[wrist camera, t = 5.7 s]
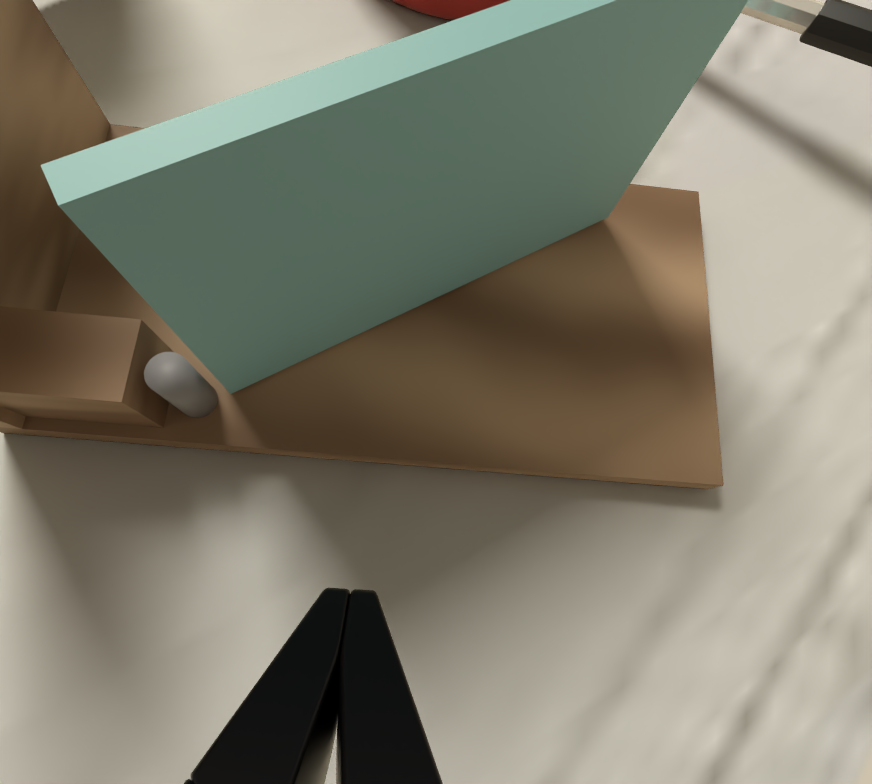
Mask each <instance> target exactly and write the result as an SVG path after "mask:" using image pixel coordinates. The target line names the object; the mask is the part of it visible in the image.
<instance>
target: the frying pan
mask: <svg viewBox="0 0 872 784" xmlns="http://www.w3.org/2000/svg"><path fill="white" fill-rule="evenodd" d="M392 1H394V2H396V3H398V4H401V5H403V6H405V7H408V8H410V9H413V10H415V11H417V12H420V13H424V14H428V15H432V16H436V17H440V18H444V19H450V20H456V19H459V18H462V17H464V16H467V15H470V14H473V13H476V12H479V11H482V10H484V9H487V8H490V7H493V6H496V5H499V4H502V3H504V2H507V1H510V0H392ZM741 13H742V14H745V15H748V16H751V17H754V18H757V19H760V20H762V21H765V22H768V23H771V24H774V25H777V26H780V27H783V28H786V29H788V30H791V31H794V32H797V33H800V34H802V35H801V37H800V41H801V42H802V43H805V44H808V45H811V46H814V47H817V48H819V49H822V50H825V51H828V52H831V53H834V54H837V55H839V56H842V57H845V58H848V59H851V60H854V61H857V62H859V63H862V64H865V65H868V66H871V67H872V10H870V9H867V8H864V7H860V6H857V5H854V4H851V3H848V2H845V1H842V0H827V1H826V2H825V3H822V2H819V1H816V0H748V2H747V4H746V5H745V7H744V8H743V10H742V11H741Z"/></svg>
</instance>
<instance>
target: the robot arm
mask: <svg viewBox="0 0 872 784" xmlns="http://www.w3.org/2000/svg"><path fill="white" fill-rule="evenodd" d="M337 721H338V722H337ZM336 728H337V753H336V784H443V783H442V780H441V777H440V774H439V772H438V769H437V766H436V763H435V760H434V757H433V754H432V751H431V748H430V746H429V743H428V740H427V737H426V734H425V731H424V728H423V725H422V723H421V720H420V717H419V714H418V711H417V708H416V705H415V702H414V700H413V697H412V694H411V691H410V688H409V685H408V682H407V679H406V677H405V674H404V671H403V668H402V665H401V662H400V659H399V656H398V653H397V651H396V648H395V645H394V642H393V639H392V636H391V633H390V630H389V628H388V625H387V622H386V619H385V616H384V613H383V610H382V607H381V605H380V602H379V599H378V596H377V594H376V592H375V591H372V590H356V589H355V590H352V591H351V593H350V592H349V590H347V589H340V588H326V589H325V590H324V591H323V592H322V593H321V594H320V596H319V597H318V599H317V600H316V601H315V603H314V604H313V605H312V607H311V608H310V610H309V611H308V612H307V614H306V615H305V617H304V618H303V619H302V621H301V622H300V623H299V625H298V626H297V628H296V629H295V630H294V632H293V633H292V635H291V636H290V637H289V639H288V640H287V641H286V643H285V644H284V646H283V647H282V648H281V650H280V651H279V653H278V654H277V655H276V657H275V658H274V660H273V661H272V662H271V664H270V665H269V666H268V668H267V669H266V671H265V672H264V673H263V675H262V676H261V678H260V679H259V680H258V682H257V683H256V684H255V686H254V687H253V689H252V690H251V691H250V693H249V694H248V696H247V697H246V698H245V700H244V701H243V703H242V704H241V705H240V707H239V708H238V709H237V711H236V712H235V714H234V715H233V716H232V718H231V719H230V721H229V722H228V723H227V725H226V726H225V727H224V729H223V730H222V732H221V733H220V734H219V736H218V737H217V739H216V740H215V741H214V743H213V744H212V745H211V747H210V748H209V750H208V751H207V752H206V754H205V755H204V757H203V758H202V759H201V761H200V762H199V764H198V765H197V766H196V768H195V769H194V770H193V772H192V773H191V779H188V780H186V781H185V783H184V784H324V783H325V779H326V774H327V770H328V766H329V761H330V757H331V753H332V749H333V744H334V739H335V734H336Z"/></svg>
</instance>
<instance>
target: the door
mask: <svg viewBox="0 0 872 784" xmlns="http://www.w3.org/2000/svg"><path fill="white" fill-rule="evenodd" d="M747 2H748V0H510V1H507V2H504V3H502V4H499V5H496V6H493V7H490V8H487V9H484V10H482V11H479V12H476V13H473V14H470V15H467V16H464V17H462V18H459V19H456V20H453V21H450V22H447V23H444V24H442V25H439V26H436V27H433V28H430V29H427V30H424V31H422V32H419V33H416V34H413V35H410V36H407V37H405V38H402V39H399V40H396V41H393V42H390V43H387V44H385V45H382V46H379V47H376V48H373V49H370V50H367V51H365V52H362V53H359V54H356V55H353V56H350V57H347V58H345V59H342V60H339V61H336V62H333V63H330V64H327V65H325V66H322V67H319V68H316V69H313V70H310V71H307V72H305V73H302V74H299V75H296V76H293V77H290V78H287V79H285V80H282V81H279V82H276V83H273V84H270V85H267V86H265V87H262V88H259V89H256V90H253V91H250V92H247V93H245V94H242V95H239V96H236V97H233V98H230V99H227V100H225V101H222V102H219V103H216V104H213V105H210V106H208V107H205V108H202V109H199V110H196V111H193V112H190V113H188V114H185V115H182V116H179V117H176V118H173V119H170V120H168V121H165V122H162V123H159V124H156V125H153V126H150V127H148V128H145V129H142V130H139V131H136V132H133V133H130V134H128V135H125V136H122V137H119V138H116V139H113V140H110V141H108V142H105V143H102V144H99V145H96V146H93V147H90V148H88V149H85V150H82V151H79V152H76V153H73V154H70V155H68V156H65V157H62V158H59V159H56V160H53V161H50V162H48V163H45V164H42V165H41V168H42V170H43V172H44V174H45V177H46V179H47V181H48V183H49V186H50V188H51V190H52V193H53V195H54V197H55V199H56V202H57V204H58V206H59V207H60V208H61V209H62V210H63V211H64V212H65V214H66V215H67V216H68V217H69V218H70V219H71V220H72V221H73V222H74V223H75V224H76V226H77V227H78V228H79V229H80V230H81V231H82V232H83V233H84V234H85V235H86V236H87V238H88V239H89V240H90V241H91V242H92V243H93V244H94V245H95V246H96V247H97V248H98V250H99V251H100V252H101V253H102V254H103V255H104V256H105V257H106V258H107V259H108V261H109V262H110V263H111V264H112V265H113V266H114V267H115V268H116V269H117V270H118V271H119V273H120V274H121V275H122V276H123V277H124V278H125V279H126V280H127V281H128V282H129V283H130V285H131V286H132V287H133V288H134V289H135V290H136V291H137V292H138V293H139V294H140V296H141V297H142V298H143V299H144V300H145V301H146V302H147V303H148V304H149V305H150V306H151V308H152V309H153V310H154V311H155V312H156V313H157V314H158V315H159V316H160V317H161V318H162V320H163V321H164V322H165V323H166V324H167V325H168V326H169V327H170V328H171V329H172V330H173V332H174V333H175V334H176V335H177V336H178V337H179V338H180V339H181V340H182V341H183V343H184V344H185V345H186V346H187V347H188V348H189V349H190V350H191V351H192V352H193V353H194V355H195V356H196V357H197V358H198V359H199V360H200V361H201V362H202V363H203V364H204V365H205V367H206V368H207V369H208V370H209V371H210V372H211V373H212V374H213V375H214V376H215V378H216V379H217V380H218V381H219V382H220V383H221V384H222V385H223V386H224V387H225V388H226V390H227V391H228V392H229V393H230V394H232V393H234V392H236V391H238V390H241V389H243V388H245V387H247V386H249V385H251V384H253V383H255V382H258V381H260V380H262V379H264V378H266V377H268V376H270V375H273V374H275V373H277V372H279V371H281V370H283V369H285V368H287V367H290V366H292V365H294V364H296V363H298V362H300V361H302V360H305V359H307V358H309V357H311V356H313V355H315V354H317V353H320V352H322V351H324V350H326V349H328V348H330V347H332V346H334V345H337V344H339V343H341V342H343V341H345V340H347V339H349V338H352V337H354V336H356V335H358V334H360V333H362V332H364V331H366V330H369V329H371V328H373V327H375V326H377V325H379V324H381V323H384V322H386V321H388V320H390V319H392V318H394V317H396V316H398V315H401V314H403V313H405V312H407V311H409V310H411V309H413V308H416V307H418V306H420V305H422V304H424V303H426V302H428V301H431V300H433V299H435V298H437V297H439V296H441V295H443V294H445V293H448V292H450V291H452V290H454V289H456V288H458V287H460V286H463V285H465V284H467V283H469V282H471V281H473V280H475V279H477V278H480V277H482V276H484V275H486V274H488V273H490V272H492V271H495V270H497V269H499V268H501V267H503V266H505V265H507V264H509V263H512V262H514V261H516V260H518V259H520V258H522V257H524V256H527V255H529V254H531V253H533V252H535V251H537V250H539V249H542V248H544V247H546V246H548V245H550V244H552V243H554V242H556V241H559V240H561V239H563V238H565V237H567V236H569V235H571V234H574V233H576V232H578V231H580V230H582V229H584V228H586V227H588V226H591V225H593V224H595V223H597V222H599V221H601V220H603V219H606V218H608V217H609V215H610V213H611V212H612V210H613V209H614V207H615V206H616V204H617V203H618V201H619V200H620V198H621V196H622V195H623V193H624V192H625V190H626V189H627V187H628V186H629V184H630V183H631V181H632V180H633V178H634V176H635V175H636V173H637V172H638V170H639V169H640V167H641V166H642V164H643V163H644V161H645V159H646V158H647V156H648V155H649V153H650V152H651V150H652V149H653V147H654V146H655V144H656V142H657V141H658V139H659V138H660V136H661V135H662V133H663V132H664V130H665V129H666V127H667V125H668V124H669V122H670V121H671V119H672V118H673V116H674V115H675V113H676V112H677V110H678V109H679V107H680V105H681V104H682V102H683V101H684V99H685V98H686V96H687V95H688V93H689V92H690V90H691V88H692V87H693V85H694V84H695V82H696V81H697V79H698V78H699V76H700V75H701V73H702V71H703V70H704V68H705V67H706V65H707V64H708V62H709V61H710V59H711V58H712V56H713V54H714V53H715V51H716V50H717V48H718V47H719V45H720V44H721V42H722V41H723V39H724V38H725V36H726V34H727V33H728V31H729V30H730V28H731V27H732V25H733V24H734V22H735V21H736V19H737V17H738V16H739V14H740V13H741V11H742V10H743V8H744V7H745V5H746V4H747ZM144 379H145V382H146V384H147V385H148V386H149V387H150V388H151V389H152V390H154V391H155V392H156V393H158V394H159V395H160V396H162V397H163V398H164V399H166V400H167V401H168V402H170V403H171V404H172V405H174V406H175V407H176V408H178V409H179V410H180V411H182V412H183V413H184V414H186V415H187V416H189V417H192V418H201V417H205V416H207V415H209V414H210V413H211V412H212V411H213V410H214V409H215V407H216V405H217V402H218V395H217V392H216V390H215V389H214V388H213V387H212V386H211V385H210V383H209V382H208V381H207V380H206V379H205V378H204V377H203V376H202V375H201V374H200V373H199V372H198V371H197V370H196V369H195V368H194V367H193V366H192V365H191V364H190V363H189V362H188V361H187V360H186V359H185V358H184V357H183V356H182V355H180V354H178V353H175V352H163V353H160V354H157V355H155V356H154V357H153V358H151V359H150V360H149V362H148V363H147V365H146V367H145V370H144Z"/></svg>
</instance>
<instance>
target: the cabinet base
mask: <svg viewBox="0 0 872 784" xmlns="http://www.w3.org/2000/svg"><path fill="white" fill-rule="evenodd" d="M142 129H145V128H138V127H129V126H121V125H112V124H110V123H109V122H108V120H107V118H106V117H105V115H104V114H103V112H102V110H101V109H100V107H99V106H98V104H97V102H96V101H95V99H94V98H93V96H92V95H91V93H90V91H89V90H88V88H87V87H86V85H85V83H84V82H83V80H82V79H81V77H80V75H79V74H78V72H77V71H76V69H75V67H74V66H73V64H72V63H71V61H70V59H69V58H68V56H67V55H66V53H65V51H64V50H63V48H62V47H61V45H60V43H59V42H58V40H57V39H56V37H55V35H54V34H53V32H52V31H51V29H50V27H49V26H48V24H47V23H46V21H45V19H44V18H43V16H42V15H41V13H40V11H39V10H38V8H37V7H36V5H35V4H34V2H33V0H0V432H2V433H11V434H24V435H36V436H49V437H61V438H74V439H86V440H99V441H111V442H124V443H137V444H149V445H162V446H174V447H187V448H199V449H212V450H224V451H237V452H250V453H262V454H275V455H287V456H300V457H312V458H325V459H337V460H350V461H363V462H375V463H388V464H400V465H413V466H425V467H438V468H450V469H463V470H476V471H488V472H501V473H513V474H526V475H538V476H551V477H563V478H576V479H589V480H601V481H614V482H626V483H639V484H651V485H664V486H676V487H689V488H702V489H709V488H713V487H718V486H722V485H723V476H722V464H721V453H720V441H719V429H718V417H717V405H716V394H715V382H714V370H713V358H712V346H711V334H710V323H709V311H708V299H707V287H706V275H705V264H704V252H703V240H702V228H701V216H700V204H699V193H698V192H696V191H687V190H678V189H670V188H661V187H652V186H644V185H635V184H629V186H628V187H627V189H626V190H625V192H624V193H623V195H622V196H621V198H620V200H619V201H618V203H617V204H616V206H615V207H614V209H613V210H612V212H611V213H610V215H609V217H608V218H606V219H603V220H601V221H599V222H597V223H595V224H593V225H591V226H588V227H586V228H584V229H582V230H580V231H578V232H576V233H574V234H571V235H569V236H567V237H565V238H563V239H561V240H559V241H556V242H554V243H552V244H550V245H548V246H546V247H544V248H542V249H539V250H537V251H535V252H533V253H531V254H529V255H527V256H524V257H522V258H520V259H518V260H516V261H514V262H512V263H509V264H507V265H505V266H503V267H501V268H499V269H497V270H495V271H492V272H490V273H488V274H486V275H484V276H482V277H480V278H477V279H475V280H473V281H471V282H469V283H467V284H465V285H463V286H460V287H458V288H456V289H454V290H452V291H450V292H448V293H445V294H443V295H441V296H439V297H437V298H435V299H433V300H431V301H428V302H426V303H424V304H422V305H420V306H418V307H416V308H413V309H411V310H409V311H407V312H405V313H403V314H401V315H398V316H396V317H394V318H392V319H390V320H388V321H386V322H384V323H381V324H379V325H377V326H375V327H373V328H371V329H369V330H366V331H364V332H362V333H360V334H358V335H356V336H354V337H352V338H349V339H347V340H345V341H343V342H341V343H339V344H337V345H334V346H332V347H330V348H328V349H326V350H324V351H322V352H320V353H317V354H315V355H313V356H311V357H309V358H307V359H305V360H302V361H300V362H298V363H296V364H294V365H292V366H290V367H287V368H285V369H283V370H281V371H279V372H277V373H275V374H273V375H270V376H268V377H266V378H264V379H262V380H260V381H258V382H255V383H253V384H251V385H249V386H247V387H245V388H243V389H241V390H238V391H236V392H234V393H232V394H230V393H229V392H228V391H227V390H226V388H225V387H224V386H223V385H222V384H221V383H220V382H219V381H218V380H217V379H216V378H215V376H214V375H213V374H212V373H211V372H210V371H209V370H208V369H207V368H206V367H205V365H204V364H203V363H202V362H201V361H200V360H199V359H198V358H197V357H196V356H195V355H194V353H193V352H192V351H191V350H190V349H189V348H188V347H187V346H186V345H185V344H184V343H183V341H182V340H181V339H180V338H179V337H178V336H177V335H176V334H175V333H174V332H173V330H172V329H171V328H170V327H169V326H168V325H167V324H166V323H165V322H164V321H163V320H162V318H161V317H160V316H159V315H158V314H157V313H156V312H155V311H154V310H153V309H152V308H151V306H150V305H149V304H148V303H147V302H146V301H145V300H144V299H143V298H142V297H141V296H140V294H139V293H138V292H137V291H136V290H135V289H134V288H133V287H132V286H131V285H130V283H129V282H128V281H127V280H126V279H125V278H124V277H123V276H122V275H121V274H120V273H119V271H118V270H117V269H116V268H115V267H114V266H113V265H112V264H111V263H110V262H109V261H108V259H107V258H106V257H105V256H104V255H103V254H102V253H101V252H100V251H99V250H98V248H97V247H96V246H95V245H94V244H93V243H92V242H91V241H90V240H89V239H88V238H87V236H86V235H85V234H84V233H83V232H82V231H81V230H80V229H79V228H78V227H77V226H76V224H75V223H74V222H73V221H72V220H71V219H70V218H69V217H68V216H67V215H66V214H65V212H64V211H63V210H62V209H61V208H60V207H59V206H58V204H57V202H56V199H55V197H54V195H53V193H52V190H51V188H50V186H49V183H48V181H47V179H46V177H45V174H44V172H43V170H42V168H41V165H42V164H45V163H48V162H50V161H53V160H56V159H59V158H62V157H65V156H68V155H70V154H73V153H76V152H79V151H82V150H85V149H88V148H90V147H93V146H96V145H99V144H102V143H105V142H108V141H110V140H113V139H116V138H119V137H122V136H125V135H128V134H130V133H133V132H136V131H139V130H142ZM163 352H175V353H178V354H180V355H182V356H183V357H184V358H185V359H186V360H187V361H188V362H189V363H190V364H191V365H192V366H193V367H194V368H195V369H196V370H197V371H198V372H199V373H200V374H201V375H202V376H203V377H204V378H205V379H206V380H207V381H208V382H209V383H210V385H211V386H212V387H213V388H214V389H215V390H216V392H217V395H218V402H217V405H216V407H215V409H214V410H213V411H212V412H211V413H210V414H209V415H207V416H205V417H201V418H192V417H189V416H187V415H186V414H184V413H183V412H182V411H180V410H179V409H178V408H176V407H175V406H174V405H172V404H171V403H170V402H168V401H167V400H166V399H164V398H163V397H162V396H160V395H159V394H158V393H156V392H155V391H154V390H152V389H151V388H150V387H149V386H148V385H147V384H146V382H145V379H144V370H145V367H146V365H147V363H148V362H149V360H150V359H151V358H153V357H154V356H155V355H157V354H160V353H163Z"/></svg>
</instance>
